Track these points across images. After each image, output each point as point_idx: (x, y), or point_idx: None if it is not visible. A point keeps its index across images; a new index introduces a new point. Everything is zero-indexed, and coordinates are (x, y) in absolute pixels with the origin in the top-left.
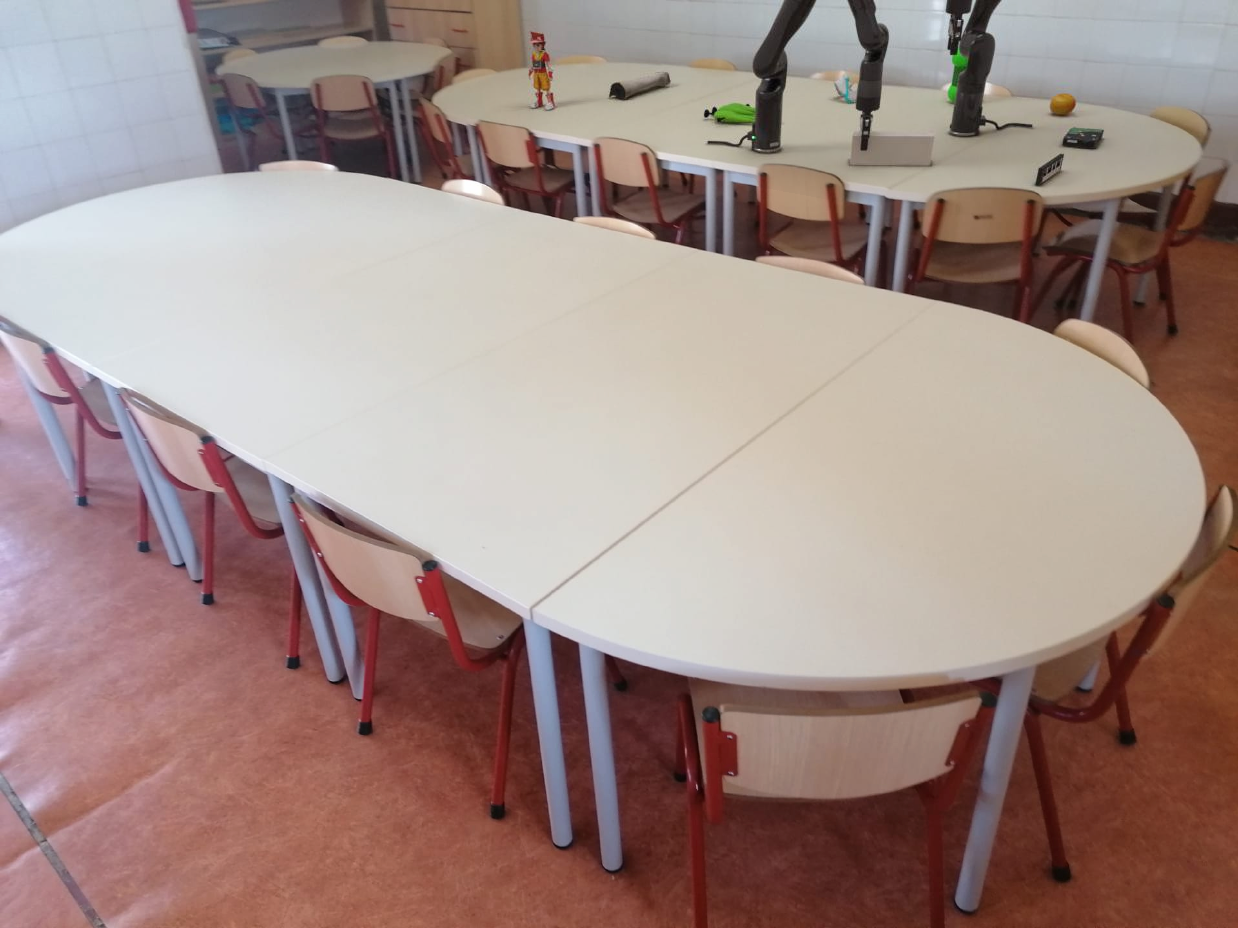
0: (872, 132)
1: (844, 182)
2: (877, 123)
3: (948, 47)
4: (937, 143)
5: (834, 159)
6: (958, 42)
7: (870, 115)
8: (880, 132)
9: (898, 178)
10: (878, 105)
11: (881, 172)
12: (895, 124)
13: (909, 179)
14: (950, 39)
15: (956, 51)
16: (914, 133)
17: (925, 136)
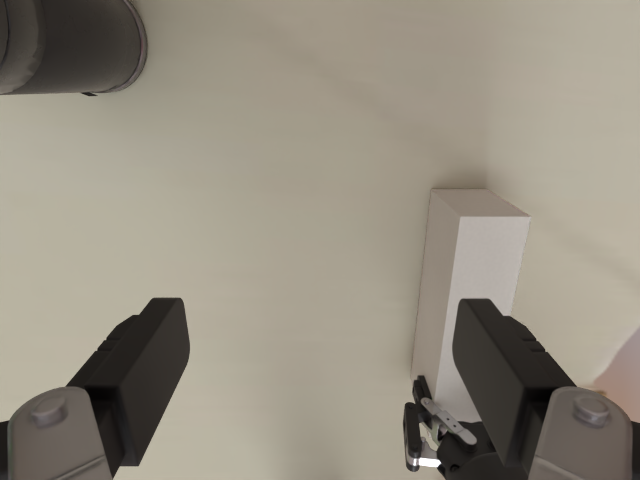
0: (452, 393)
1: (589, 388)
2: (31, 309)
3: (179, 366)
4: (238, 146)
5: (403, 407)
6: (554, 394)
7: None
8: (455, 373)
9: (587, 276)
10: None
11: (527, 313)
12: (28, 260)
13: (602, 251)
14: (142, 428)
15: (525, 330)
16: (482, 279)
17: (524, 245)
